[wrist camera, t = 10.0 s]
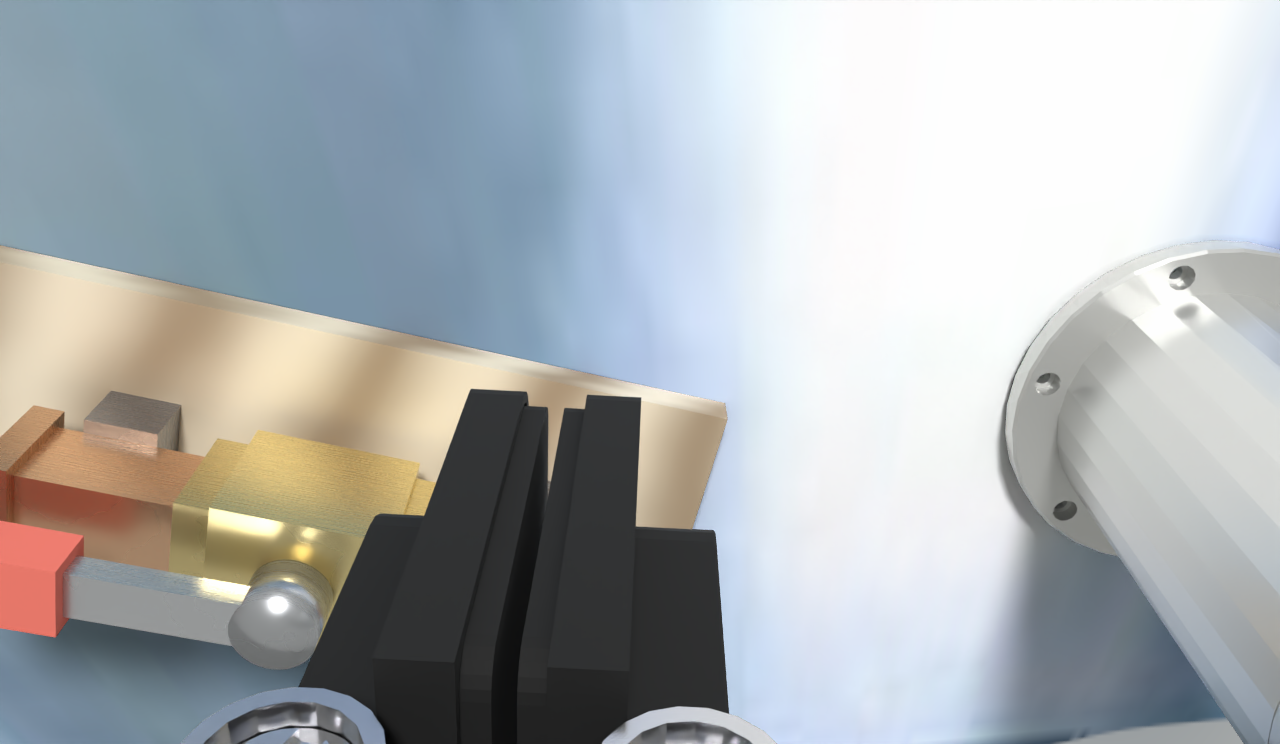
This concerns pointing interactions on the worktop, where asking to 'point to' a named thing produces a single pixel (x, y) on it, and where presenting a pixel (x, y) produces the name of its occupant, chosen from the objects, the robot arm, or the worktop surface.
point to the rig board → (302, 376)
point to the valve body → (198, 493)
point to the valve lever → (160, 598)
